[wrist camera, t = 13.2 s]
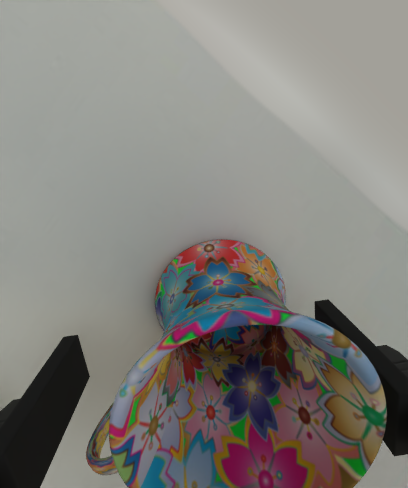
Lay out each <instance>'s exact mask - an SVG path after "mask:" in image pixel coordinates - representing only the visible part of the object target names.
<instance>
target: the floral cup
mask: <svg viewBox="0 0 408 488" xmlns="http://www.w3.org/2000/svg"><path fill="white" fill-rule="evenodd" d="M285 303H286V294H285V286H284V282H283V279H282V276H281V274H280V272H279V270H278V269H277V267H276V266H275V264H274V263H273V262H272V261H271V260H270V258H269V257H267V256H266V255H265V254H264V253H263V252H261V251H260V250H258V249H256V248H255V247H253V246H250V245H248V244H245V243H242V242H238V241H233V240H212V241H207V242H203V243H200V244H197V245H195V246H192V247H190V248H188V249H187V250H185V251H183V252H182V253H181V254H179V255H178V256H177V257H176V258H175V259H174V260H173V261H172V262H171V263H170V264H169V265H168V266H167V268H166V269H165V271H164V272H163V274H162V276H161V278H160V280H159V283H158V286H157V290H156V296H155V307H156V313H157V317H158V320H159V323H160V325H161V327H162V329H163V331H164V334H163V336H162V338H161V340H160V341H159V342H157V343H156V344H155V345H154V346H152V347H151V348H150V349H149V350H148V351H147V352H146V353H145V354H144V355H143V356H142V357H141V358H140V359H139V360H138V361H137V362H136V364H135V365H134V366H133V367H132V369H131V370H130V371H129V373H128V374H127V376H126V377H125V379H124V381H123V382H122V384H121V386H120V388H119V390H118V392H117V395H116V397H115V401H114V403H113V404H112V405H111V406H110V408H109V409H108V410H107V412H106V413H105V415H104V416H103V418H102V419H101V421H100V422H99V424H98V425H97V427H96V429H95V431H94V432H93V434H92V436H91V439H90V441H89V444H88V447H87V452H86V459H87V462H88V464H89V466H90V467H91V468H92V470H93V471H95V472H96V473H98V474H100V475H111V474H115V473H117V472H119V475H120V476H121V478H122V479H123V481H124V483H125V484H126V485H127V487H128V488H353V487H354V486H355V485H356V484H357V483H358V482H359V481H360V480H361V478H362V477H363V476H364V475H365V473H366V472H367V471H368V469H369V467H370V466H371V464H372V463H373V461H374V459H375V457H376V455H377V453H378V451H379V448H380V446H381V443H382V440H383V437H384V433H385V427H386V419H387V408H386V399H385V394H384V390H383V387H382V384H381V381H380V379H379V376H378V374H377V372H376V370H375V368H374V366H373V365H372V364H371V362H370V361H369V359H368V358H367V357H366V355H365V354H364V353H363V352H362V351H361V350H360V349H359V348H358V346H357V345H355V344H354V343H353V342H352V341H351V340H350V339H349V338H347V337H346V336H345V335H343V334H342V333H340V332H339V331H337V330H336V329H334V328H332V327H330V326H328V325H327V324H325V323H322V322H320V321H318V320H315V319H313V318H310V317H307V316H304V315H301V314H297V313H293V312H291V311H289V310H288V309H287V308H286V307H285ZM108 434H109V442H110V448H111V453H112V456H110V457H107V458H103V459H100V453H101V450H102V447H103V444H104V442H105V440H106V438H107V436H108Z"/></svg>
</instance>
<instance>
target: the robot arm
mask: <svg viewBox="0 0 408 488" xmlns="http://www.w3.org/2000/svg"><path fill="white" fill-rule="evenodd" d="M315 320H318V321H320V322H322V323H325V324H327V325H328V326H330V327H332V328H334V329H336V330H337V331H339V332H340V333H342V334H343V335H345V336H346V337H347V338H349V339H350V340H351V341H352V342H353V343H354V344H355V345H357V346H358V348H359V349H360V350H361V351H362V352H363V353H364V354H365V355H366V357H367V358H368V359H369V361H370V362H371V364H372V365H373V366H374V368H375V370H376V372H377V374H378V376H379V379H380V381H381V384H382V387H383V390H384V394H385V399H386V408H387V419H386V427H385V433H384V437H383V441H384V442H385V444H386V445H387V447H388V448H389V449H390V451H391V452H392V454H393V455H394V456H399V455H405V454H408V360H407V359H406V358H405V357H404V356H403V355H402V354H401V353H400V352H398V351H396V350H395V349H393V348H391V347H389V346H387V345H383V346H375V345H374V344H373V343H372V342H371V341H370V340H369V339H368V338H367V337H366V336H365V335H364V334H363V333H362V332H361V331H360V330H359V329H358V328H357V327H356V326H355V325H354V324H353V323H352V322H351V321H350V320H349V319H348V318H347V317H346V316H345V315H344V314H343V313H342V312H341V311H340V310H338V309H337V308H336V307H335V306H334V305H333V304H332V303H331V302H330V301H329V300H322V301H315ZM89 377H90V376H89V372H88V369H87V365H86V362H85V358H84V355H83V352H82V348H81V345H80V341H79V338H78V335H74V336H67V337H63V339H62V340H61V342H60V343H59V344H58V346H57V347H56V349H55V350H54V352H53V353H52V354H51V356H50V357H49V359H48V360H47V362H46V363H45V365H44V366H43V367H42V369H41V370H40V372H39V373H38V375H37V376H36V377H35V379H34V380H33V382H32V383H31V385H30V386H29V388H28V389H27V390H26V392H25V393H24V395H23V396H22V398H21V399H17V400H13V401H11V402H10V403H9V404H8V405H7V406H6V407H5V408H3V409H2V410H1V411H0V488H40V486H41V484H42V482H43V480H44V477H45V475H46V473H47V471H48V469H49V466H50V464H51V462H52V460H53V457H54V455H55V453H56V451H57V448H58V446H59V444H60V442H61V440H62V437H63V435H64V433H65V431H66V428H67V426H68V424H69V422H70V419H71V417H72V415H73V413H74V411H75V408H76V406H77V404H78V402H79V399H80V397H81V395H82V393H83V390H84V388H85V386H86V384H87V382H88V379H89Z"/></svg>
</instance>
